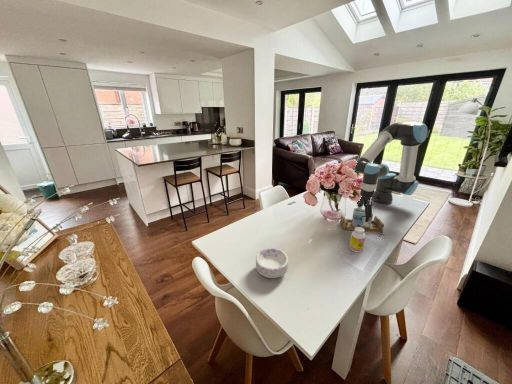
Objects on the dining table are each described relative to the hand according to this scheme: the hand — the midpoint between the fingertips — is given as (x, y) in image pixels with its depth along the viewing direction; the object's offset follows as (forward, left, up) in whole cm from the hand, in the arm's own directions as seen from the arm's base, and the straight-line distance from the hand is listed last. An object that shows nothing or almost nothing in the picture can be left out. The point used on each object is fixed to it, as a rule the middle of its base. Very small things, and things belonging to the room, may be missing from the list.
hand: (361, 220), depth 134 cm
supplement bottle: (+24, -10, -5) cm, 26 cm away
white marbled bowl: (+46, -55, -5) cm, 72 cm away
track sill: (0, 0, -5) cm, 5 cm away
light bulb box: (0, 0, -4) cm, 4 cm away
